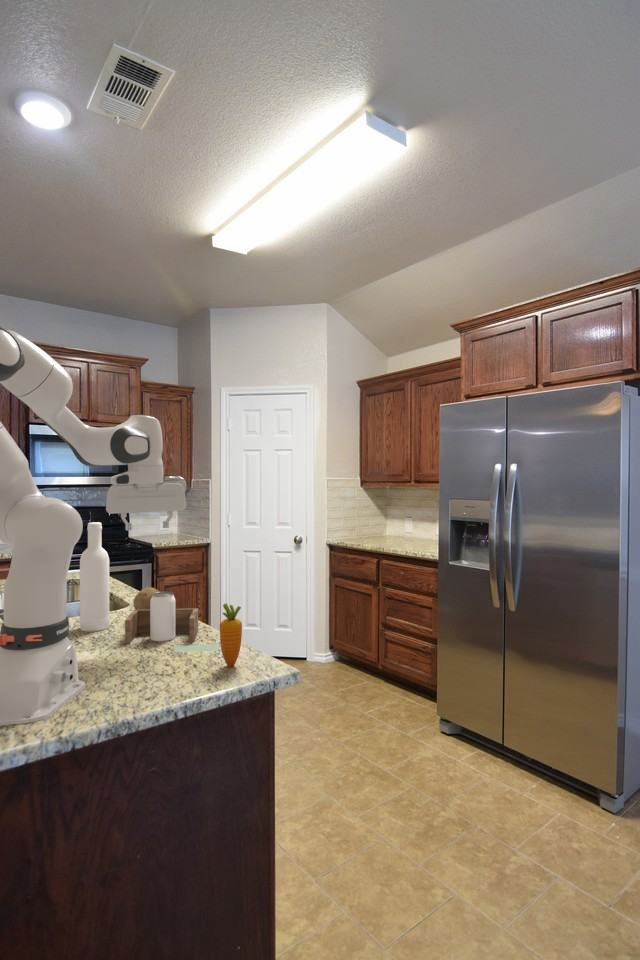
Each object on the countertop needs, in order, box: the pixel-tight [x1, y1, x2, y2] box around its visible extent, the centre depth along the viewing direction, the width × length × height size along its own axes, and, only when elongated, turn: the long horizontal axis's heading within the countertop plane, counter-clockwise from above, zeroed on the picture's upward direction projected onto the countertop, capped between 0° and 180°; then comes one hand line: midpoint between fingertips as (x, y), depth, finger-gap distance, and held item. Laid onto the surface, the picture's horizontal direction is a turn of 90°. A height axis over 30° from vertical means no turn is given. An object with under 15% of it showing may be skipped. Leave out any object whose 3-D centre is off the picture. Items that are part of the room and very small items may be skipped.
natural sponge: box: [132, 586, 160, 610], centre depth 160 cm, size 9×9×10 cm
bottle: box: [79, 521, 111, 633], centre depth 152 cm, size 8×8×30 cm
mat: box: [173, 643, 221, 653], centre depth 131 cm, size 11×11×1 cm
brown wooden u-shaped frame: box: [124, 607, 199, 645], centre depth 143 cm, size 10×17×6 cm, turn 97°
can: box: [149, 591, 176, 642], centre depth 143 cm, size 6×6×12 cm
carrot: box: [219, 603, 243, 668], centre depth 121 cm, size 5×5×15 cm
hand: (147, 529), depth 142 cm, fingers open, 8 cm apart
